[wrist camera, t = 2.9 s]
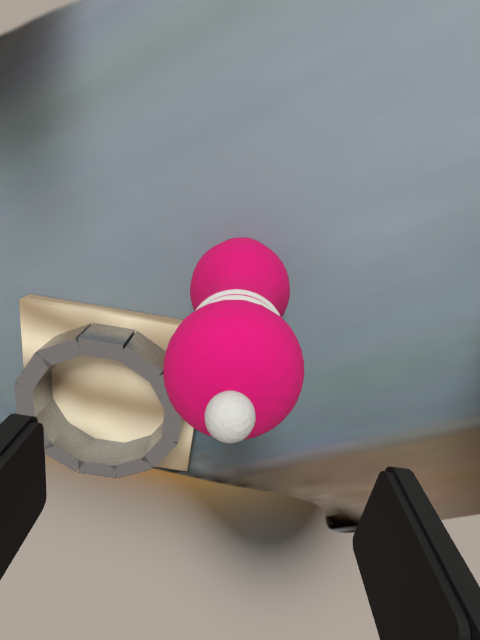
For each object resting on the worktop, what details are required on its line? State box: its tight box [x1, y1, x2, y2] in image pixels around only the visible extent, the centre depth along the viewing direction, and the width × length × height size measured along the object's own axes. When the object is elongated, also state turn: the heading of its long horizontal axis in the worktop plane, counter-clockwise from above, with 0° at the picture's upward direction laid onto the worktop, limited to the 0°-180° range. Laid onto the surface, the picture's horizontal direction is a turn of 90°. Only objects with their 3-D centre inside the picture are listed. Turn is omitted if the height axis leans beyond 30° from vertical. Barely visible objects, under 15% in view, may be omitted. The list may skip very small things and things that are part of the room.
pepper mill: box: [163, 238, 304, 443], centre depth 21 cm, size 7×7×20 cm
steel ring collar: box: [15, 323, 184, 478], centre depth 32 cm, size 14×14×3 cm
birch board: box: [19, 294, 194, 471], centre depth 34 cm, size 16×16×2 cm
